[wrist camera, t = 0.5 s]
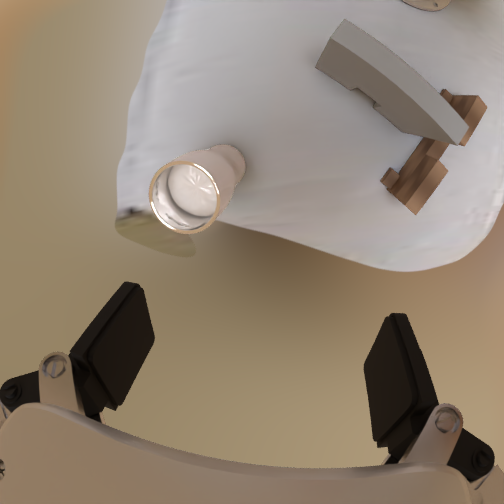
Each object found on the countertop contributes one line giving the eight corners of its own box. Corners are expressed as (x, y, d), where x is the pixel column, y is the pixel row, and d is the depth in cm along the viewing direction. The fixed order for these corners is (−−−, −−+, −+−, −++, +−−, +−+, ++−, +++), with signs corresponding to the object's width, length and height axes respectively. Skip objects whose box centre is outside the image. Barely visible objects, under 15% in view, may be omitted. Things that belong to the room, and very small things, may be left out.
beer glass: (221, 130, 33) (176, 141, 20) (260, 165, 35) (240, 197, 22) (188, 167, 36) (133, 201, 23) (225, 200, 38) (189, 251, 25)
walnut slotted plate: (443, 88, 25) (470, 86, 19) (465, 112, 26) (493, 116, 20) (378, 182, 34) (396, 197, 27) (403, 203, 34) (423, 222, 28)
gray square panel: (324, 53, 27) (344, 18, 14) (411, 119, 29) (469, 127, 16) (315, 67, 28) (330, 37, 16) (402, 132, 30) (457, 145, 17)
